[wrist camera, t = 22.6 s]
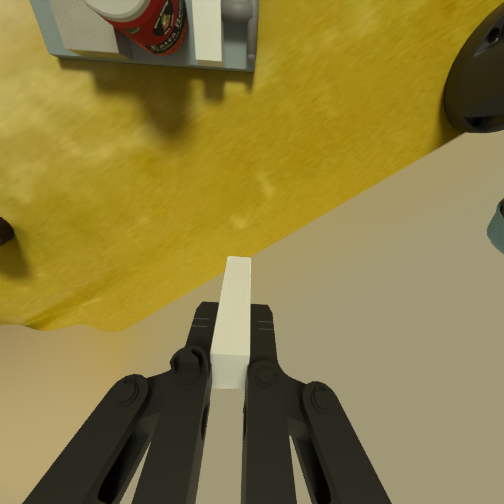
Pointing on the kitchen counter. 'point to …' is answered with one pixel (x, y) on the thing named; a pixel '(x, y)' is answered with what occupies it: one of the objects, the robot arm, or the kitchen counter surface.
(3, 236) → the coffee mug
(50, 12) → the vise base
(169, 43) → the canned food
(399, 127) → the kitchen counter surface
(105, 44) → the block
